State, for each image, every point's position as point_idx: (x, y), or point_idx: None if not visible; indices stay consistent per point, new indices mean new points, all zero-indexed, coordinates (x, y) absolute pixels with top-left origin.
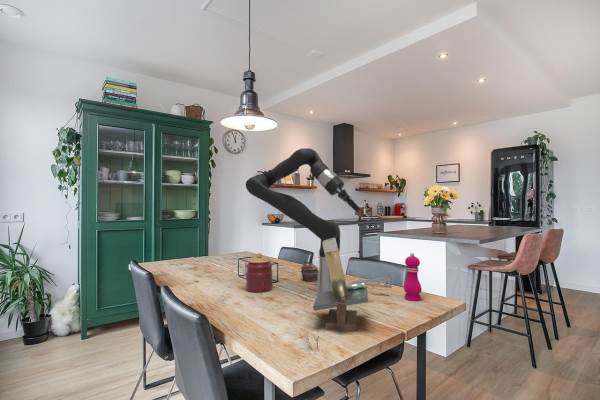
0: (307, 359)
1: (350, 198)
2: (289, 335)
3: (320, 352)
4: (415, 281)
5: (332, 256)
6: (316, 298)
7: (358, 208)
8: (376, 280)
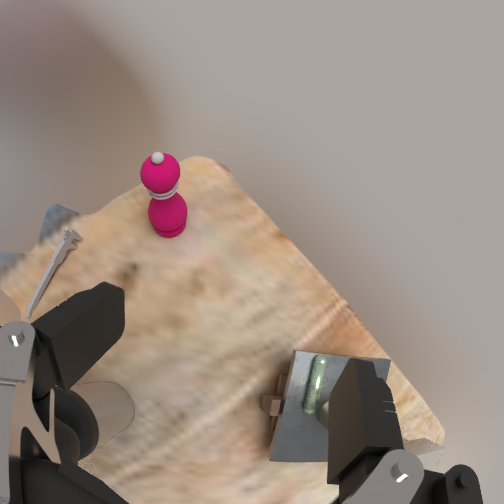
0: (418, 434)
1: (410, 457)
2: None
3: (406, 424)
4: (179, 199)
5: None
6: (314, 461)
7: (115, 303)
8: (56, 262)
